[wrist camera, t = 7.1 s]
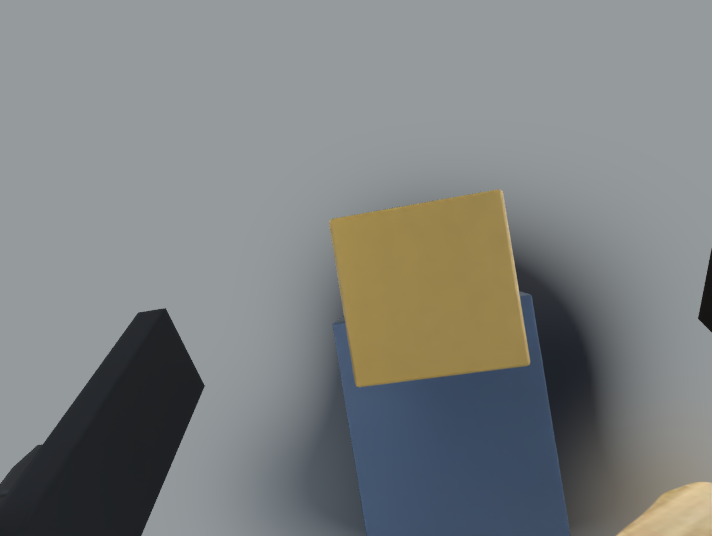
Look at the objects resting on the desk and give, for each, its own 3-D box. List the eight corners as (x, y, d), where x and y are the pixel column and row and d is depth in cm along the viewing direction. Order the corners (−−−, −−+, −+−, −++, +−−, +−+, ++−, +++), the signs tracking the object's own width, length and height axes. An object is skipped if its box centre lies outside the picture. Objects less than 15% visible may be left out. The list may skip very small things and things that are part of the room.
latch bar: (531, 366, 8) (502, 187, 8) (355, 388, 8) (327, 219, 8) (446, 284, 34) (439, 242, 34) (404, 290, 34) (397, 249, 34)
